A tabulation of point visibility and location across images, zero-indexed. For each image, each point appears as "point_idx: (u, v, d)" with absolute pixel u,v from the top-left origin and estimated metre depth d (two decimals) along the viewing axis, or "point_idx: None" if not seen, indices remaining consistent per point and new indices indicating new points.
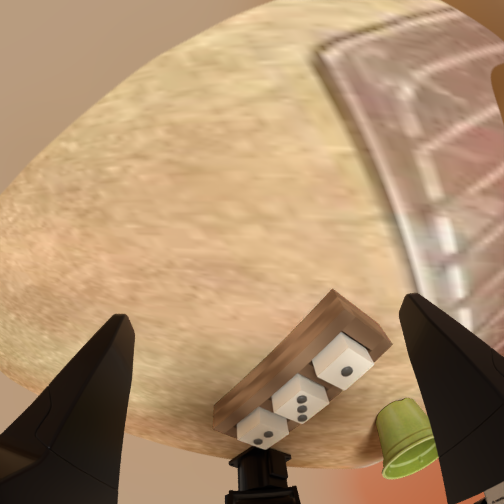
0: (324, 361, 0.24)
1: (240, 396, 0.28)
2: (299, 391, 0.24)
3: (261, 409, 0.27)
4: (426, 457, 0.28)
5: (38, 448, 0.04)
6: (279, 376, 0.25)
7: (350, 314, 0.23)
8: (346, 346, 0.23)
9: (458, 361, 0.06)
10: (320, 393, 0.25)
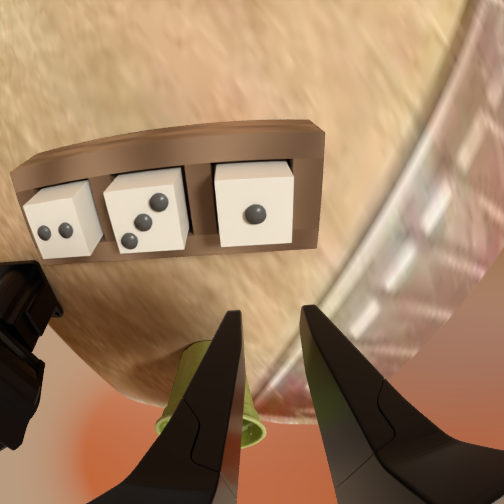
0: (239, 172, 0.14)
1: (79, 149, 0.15)
2: (168, 184, 0.14)
3: (87, 187, 0.15)
4: None
5: (204, 474, 0.04)
6: (158, 147, 0.14)
7: (322, 148, 0.15)
8: (290, 174, 0.14)
9: (335, 390, 0.06)
10: (183, 224, 0.16)
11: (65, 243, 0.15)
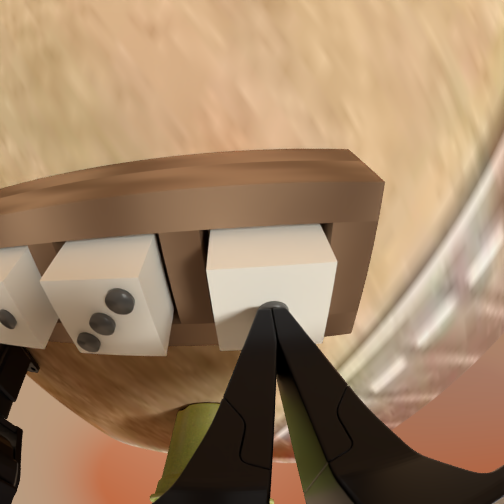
0: (247, 249, 0.09)
1: (16, 199, 0.10)
2: (130, 277, 0.08)
3: (28, 256, 0.10)
4: None
5: (256, 474, 0.04)
6: (115, 206, 0.09)
7: (378, 206, 0.09)
8: (331, 256, 0.09)
9: (297, 395, 0.06)
10: (163, 320, 0.10)
11: (11, 331, 0.09)
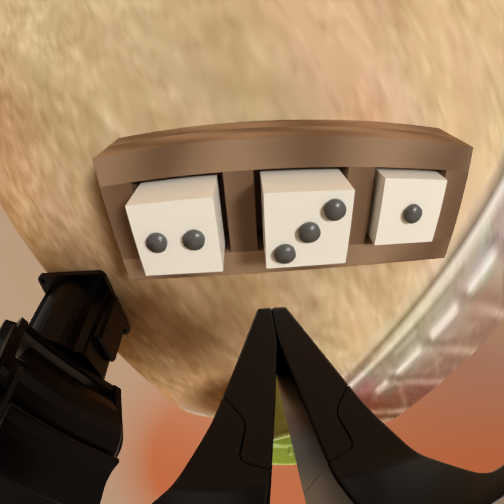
0: (399, 171, 0.13)
1: (200, 135, 0.13)
2: (349, 190, 0.11)
3: (217, 184, 0.13)
4: None
5: (256, 474, 0.04)
6: (322, 143, 0.12)
7: (468, 162, 0.12)
8: (442, 177, 0.13)
9: (297, 395, 0.06)
10: None
11: (187, 256, 0.13)
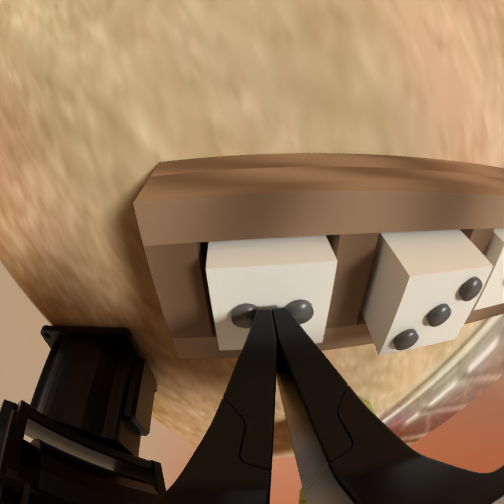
0: None
1: (301, 173, 0.09)
2: (488, 266, 0.08)
3: None
4: None
5: (255, 474, 0.04)
6: (458, 201, 0.08)
7: None
8: None
9: (297, 395, 0.06)
10: None
11: None
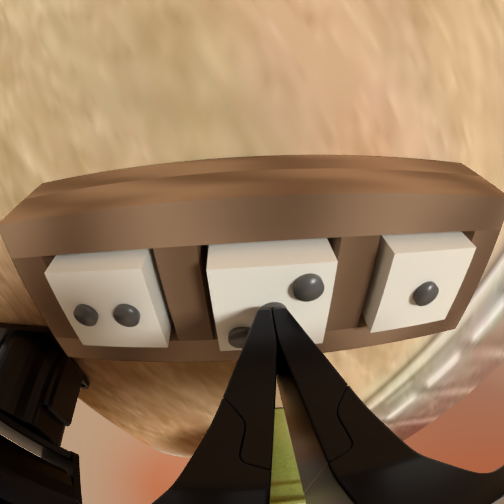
0: (413, 237, 0.09)
1: (125, 188, 0.09)
2: (329, 261, 0.08)
3: None
4: None
5: (256, 474, 0.04)
6: (302, 205, 0.08)
7: (503, 217, 0.09)
8: (470, 243, 0.09)
9: (297, 395, 0.06)
10: None
11: (124, 330, 0.10)
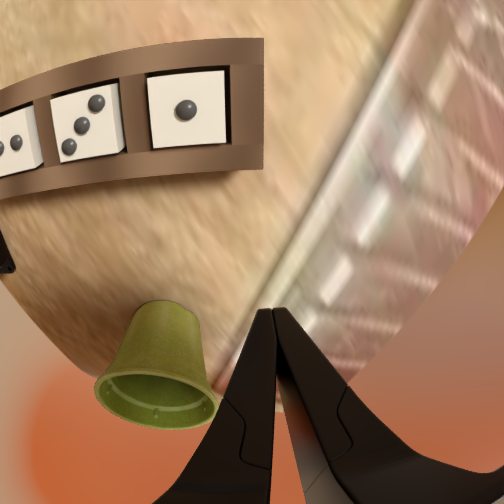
0: (173, 74, 0.13)
1: None
2: (106, 85, 0.12)
3: None
4: (165, 417, 0.23)
5: (256, 473, 0.04)
6: (96, 62, 0.12)
7: (261, 53, 0.12)
8: (221, 71, 0.12)
9: (297, 395, 0.06)
10: (121, 131, 0.14)
11: (15, 157, 0.13)
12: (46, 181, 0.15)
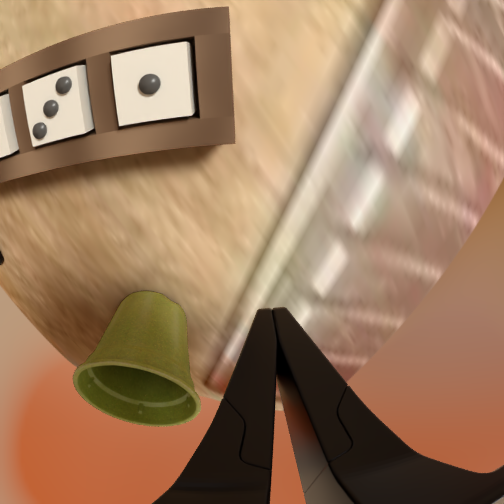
0: None
1: None
2: (72, 67, 0.11)
3: None
4: (149, 413, 0.22)
5: (256, 474, 0.04)
6: (64, 46, 0.10)
7: (227, 22, 0.11)
8: None
9: (297, 395, 0.06)
10: (89, 112, 0.13)
11: None
12: (22, 167, 0.14)
